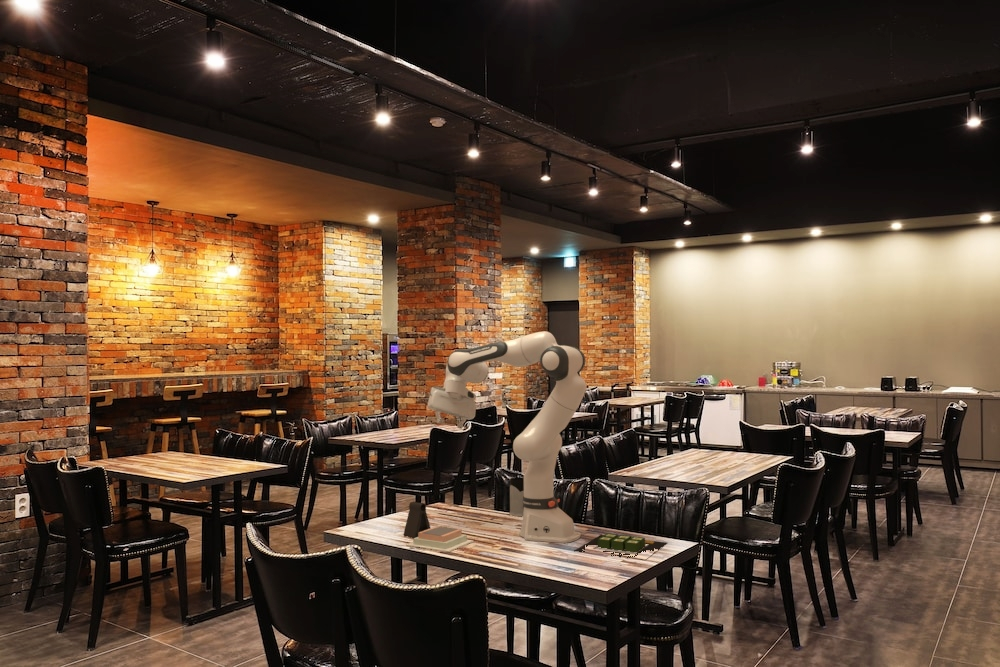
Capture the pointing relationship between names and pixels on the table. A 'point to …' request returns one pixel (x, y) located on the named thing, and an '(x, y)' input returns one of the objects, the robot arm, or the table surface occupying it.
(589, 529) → the table surface
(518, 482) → the glass holder
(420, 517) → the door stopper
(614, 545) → the sushi
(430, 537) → the base
